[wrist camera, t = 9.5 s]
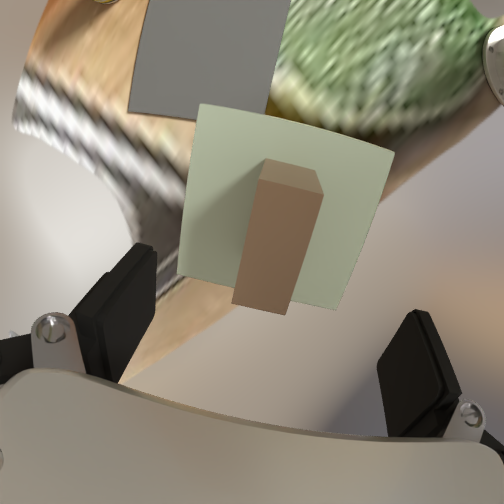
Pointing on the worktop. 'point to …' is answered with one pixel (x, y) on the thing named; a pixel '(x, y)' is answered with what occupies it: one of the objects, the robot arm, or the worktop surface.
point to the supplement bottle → (105, 1)
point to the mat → (207, 55)
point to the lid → (277, 208)
